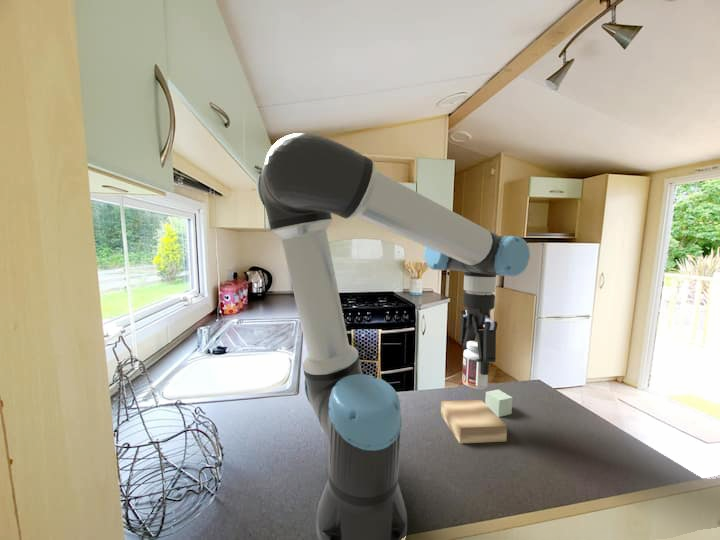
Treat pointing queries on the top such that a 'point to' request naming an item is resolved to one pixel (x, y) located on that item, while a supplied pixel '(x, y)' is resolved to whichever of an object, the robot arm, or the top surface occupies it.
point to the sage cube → (499, 402)
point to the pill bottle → (470, 365)
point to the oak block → (473, 421)
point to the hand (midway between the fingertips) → (474, 379)
